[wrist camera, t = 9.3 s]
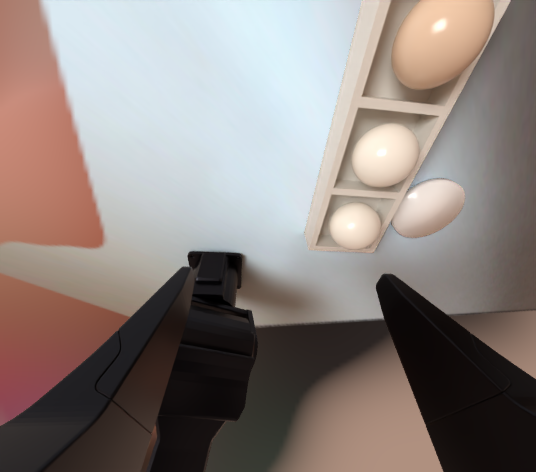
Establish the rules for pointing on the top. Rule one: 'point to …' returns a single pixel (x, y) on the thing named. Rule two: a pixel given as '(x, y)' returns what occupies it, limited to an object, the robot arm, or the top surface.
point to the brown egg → (440, 40)
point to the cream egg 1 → (354, 225)
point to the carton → (376, 119)
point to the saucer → (428, 207)
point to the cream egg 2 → (385, 155)
